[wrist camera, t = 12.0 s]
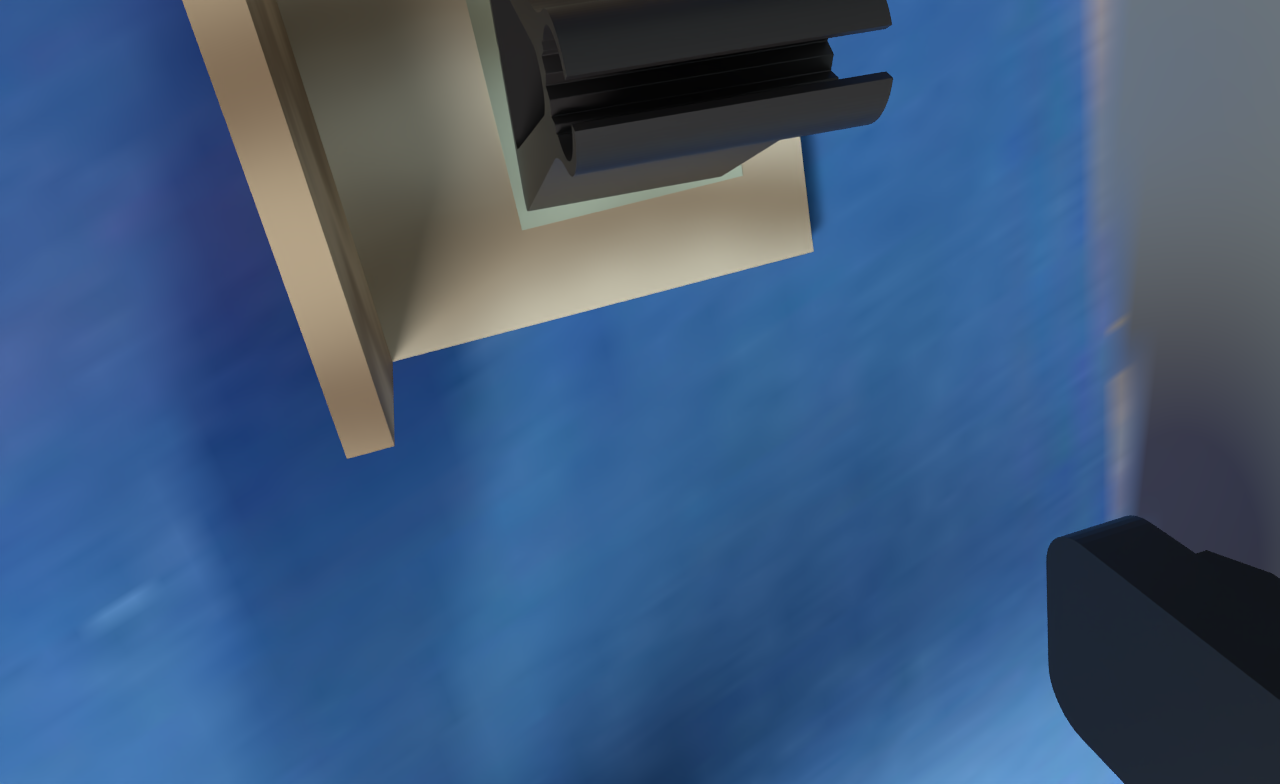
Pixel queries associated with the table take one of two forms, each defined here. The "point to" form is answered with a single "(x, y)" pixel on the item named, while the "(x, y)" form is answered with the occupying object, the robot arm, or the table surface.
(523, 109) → the phone stand
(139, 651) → the table surface
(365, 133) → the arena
